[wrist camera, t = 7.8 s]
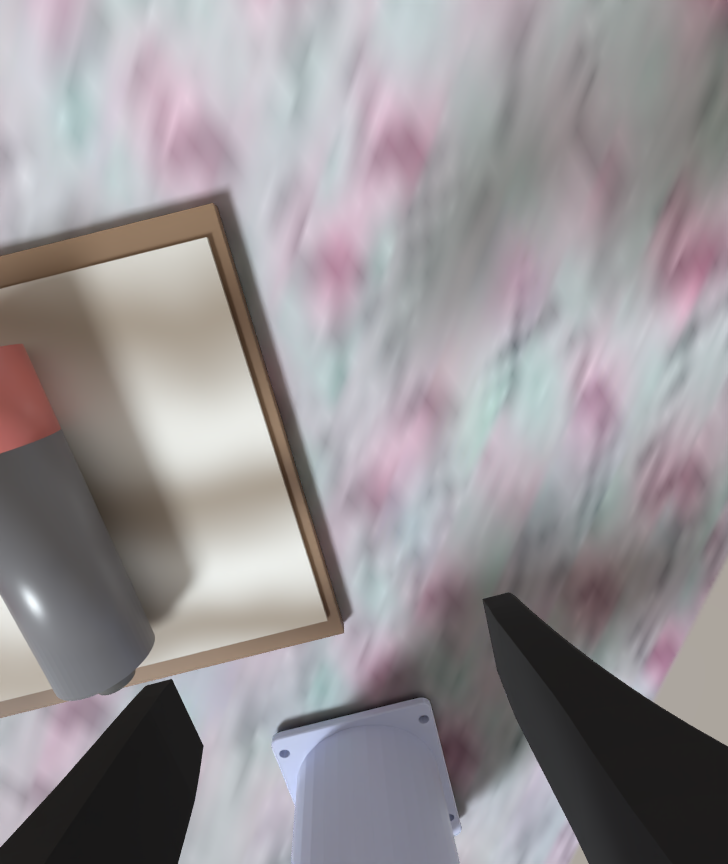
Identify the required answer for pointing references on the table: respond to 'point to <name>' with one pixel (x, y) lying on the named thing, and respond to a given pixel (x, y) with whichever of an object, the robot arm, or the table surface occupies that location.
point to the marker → (60, 550)
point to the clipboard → (169, 443)
